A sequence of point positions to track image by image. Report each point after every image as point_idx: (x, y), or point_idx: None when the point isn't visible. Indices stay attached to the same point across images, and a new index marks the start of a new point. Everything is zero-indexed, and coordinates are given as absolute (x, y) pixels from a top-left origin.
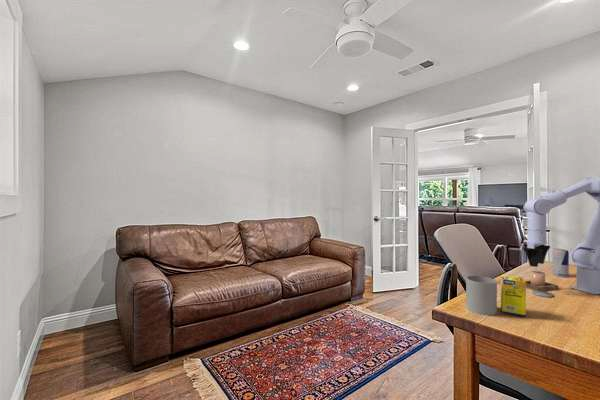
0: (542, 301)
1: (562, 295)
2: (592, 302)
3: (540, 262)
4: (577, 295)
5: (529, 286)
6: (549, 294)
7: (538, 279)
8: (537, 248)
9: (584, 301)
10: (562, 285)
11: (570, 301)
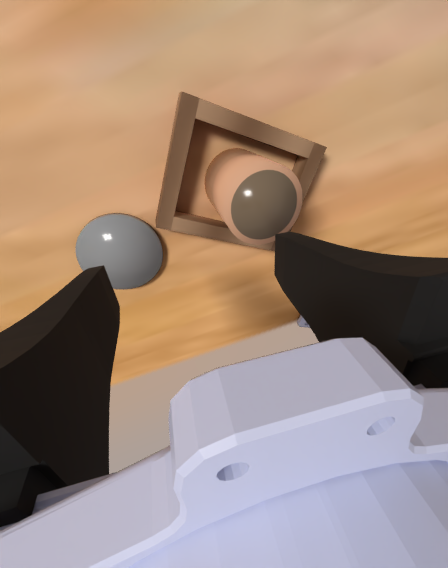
0: (11, 297)
1: (191, 288)
2: (194, 353)
3: (278, 265)
4: (241, 307)
5: (164, 175)
6: (131, 276)
7: (219, 213)
8: (372, 327)
9: (182, 342)
10: (355, 226)
11: (135, 330)
